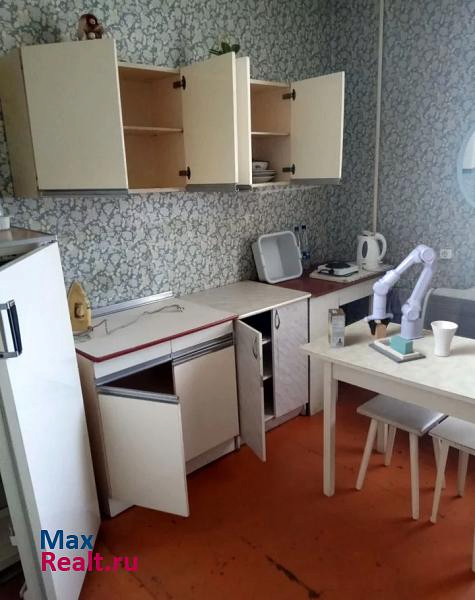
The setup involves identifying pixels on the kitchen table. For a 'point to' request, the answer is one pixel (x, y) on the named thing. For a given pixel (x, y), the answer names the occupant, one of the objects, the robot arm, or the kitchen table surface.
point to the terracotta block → (380, 331)
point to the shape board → (385, 349)
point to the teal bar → (402, 345)
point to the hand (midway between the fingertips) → (378, 333)
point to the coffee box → (336, 327)
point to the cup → (443, 337)
